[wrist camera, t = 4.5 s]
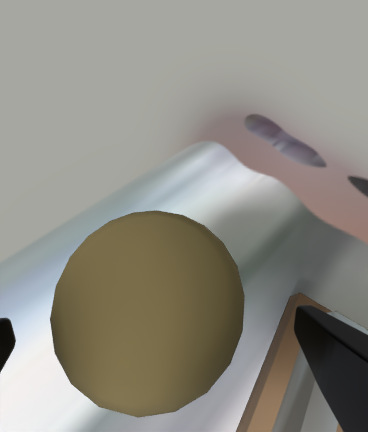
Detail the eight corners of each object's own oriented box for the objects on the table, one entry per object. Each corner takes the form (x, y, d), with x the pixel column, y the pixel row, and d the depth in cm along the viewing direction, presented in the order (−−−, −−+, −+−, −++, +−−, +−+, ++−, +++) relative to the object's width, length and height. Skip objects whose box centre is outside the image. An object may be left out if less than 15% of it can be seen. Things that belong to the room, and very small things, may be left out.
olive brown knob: (198, 400, 12) (249, 573, 3) (105, 356, 13) (-78, 381, 4) (226, 295, 15) (296, 214, 6) (147, 265, 16) (98, 156, 7)
